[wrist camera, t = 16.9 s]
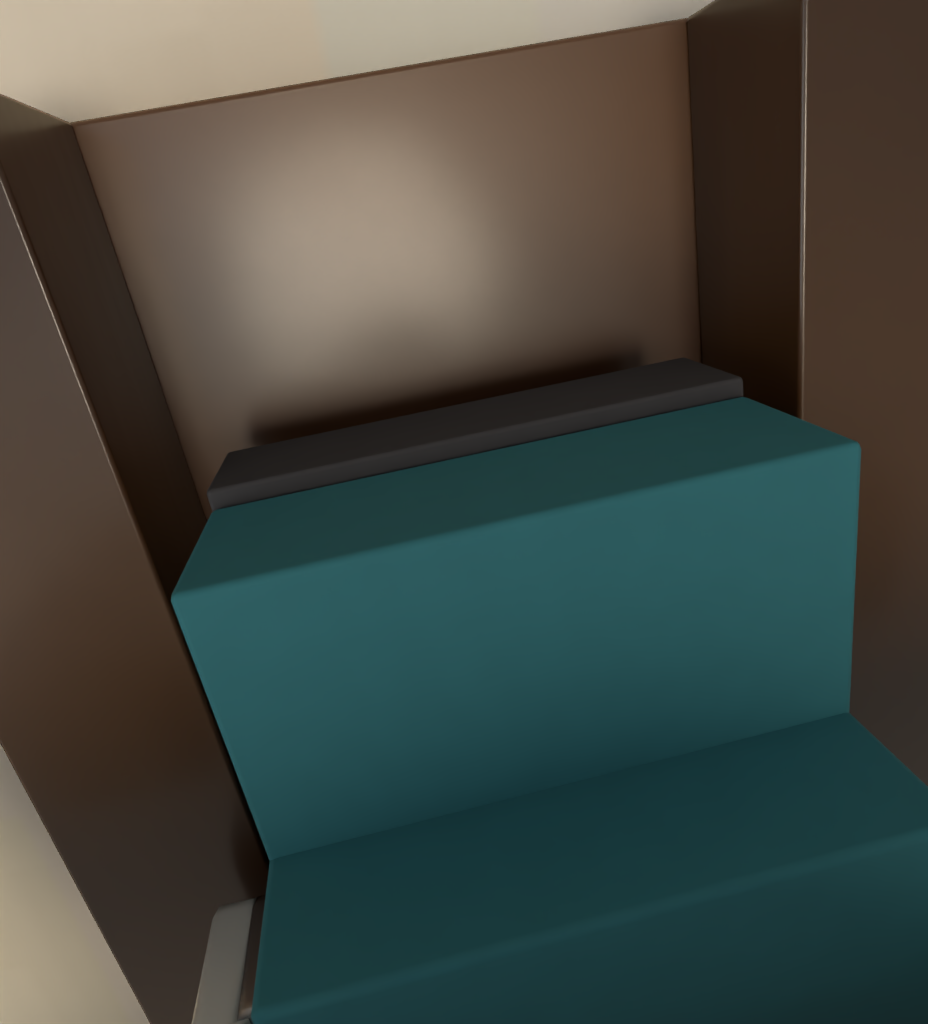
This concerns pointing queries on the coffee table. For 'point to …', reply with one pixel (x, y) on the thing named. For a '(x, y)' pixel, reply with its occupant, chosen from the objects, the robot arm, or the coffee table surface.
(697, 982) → the teal stepped block
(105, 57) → the coffee table surface
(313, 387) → the brown rail tray
